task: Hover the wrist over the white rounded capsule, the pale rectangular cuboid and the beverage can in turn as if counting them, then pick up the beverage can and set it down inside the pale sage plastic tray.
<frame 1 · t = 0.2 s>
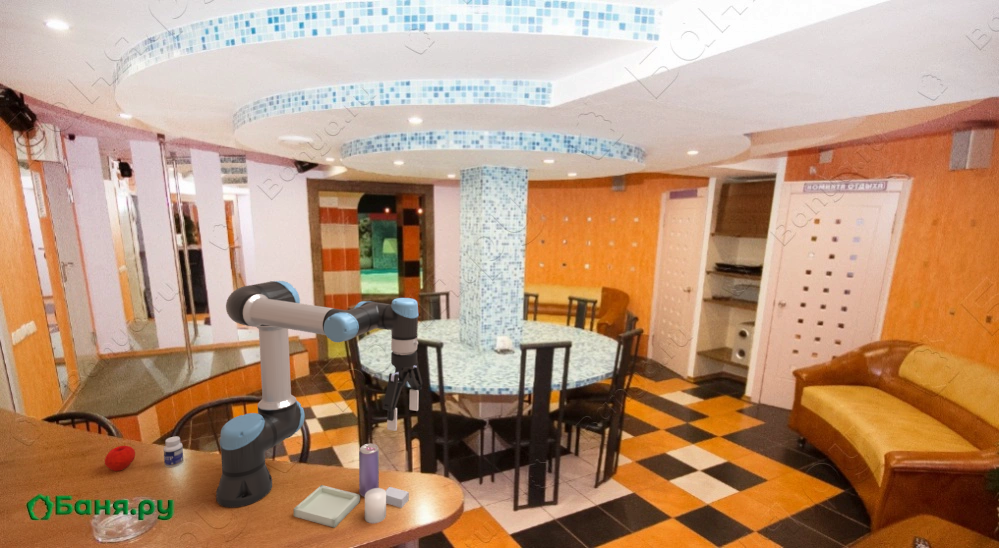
hand: (403, 419, 132), 27 cm above the bar counter, fingers open, 13 cm apart
beverage can: (369, 492, 140), on the bar counter
apple: (121, 468, 147), on the bar counter
tray: (327, 508, 131), on the bar counter
white rounded capsule: (375, 516, 129), on the bar counter
pale rectangular cuboid: (395, 501, 136), on the bar counter
pill bottle: (174, 463, 151), on the bar counter
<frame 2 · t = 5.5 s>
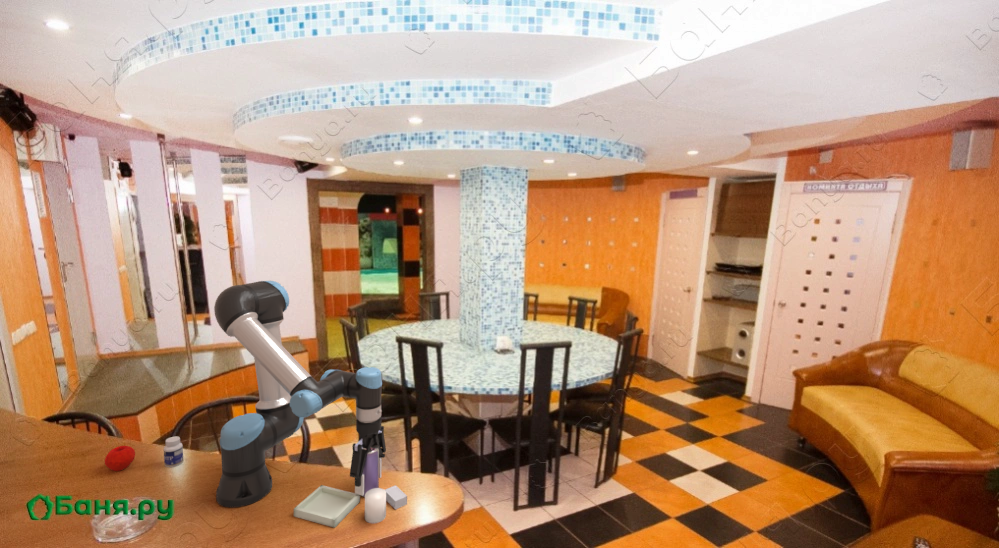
hand: (368, 485, 139), 3 cm above the bar counter, fingers open, 9 cm apart
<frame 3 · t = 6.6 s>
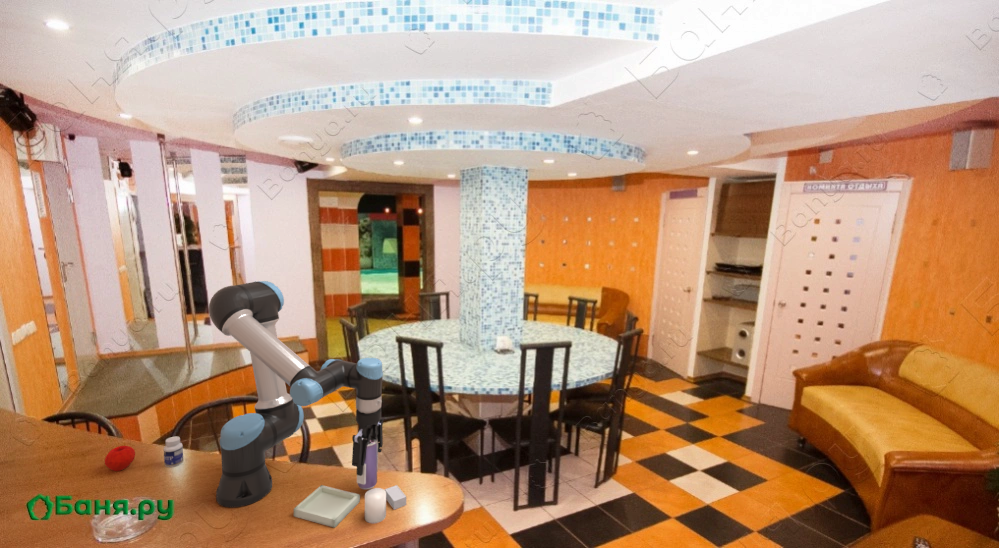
hand: (367, 476, 139), 5 cm above the bar counter, fingers closed on beverage can, 6 cm apart
beverage can: (367, 484, 139), point 2 cm above the bar counter, touching gripper
when the fingers open (4 cm above the bar counter, at t = 11.7 s): beverage can stays where it is, resting on tray.
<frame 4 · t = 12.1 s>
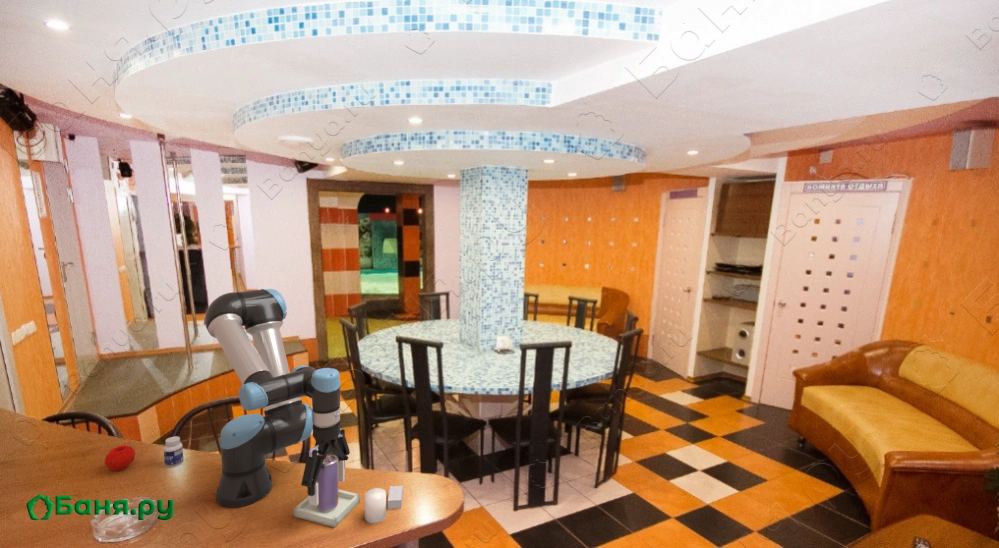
hand: (327, 491, 130), 6 cm above the bar counter, fingers open, 11 cm apart
beverage can: (327, 506, 131), point 1 cm above the bar counter, touching tray
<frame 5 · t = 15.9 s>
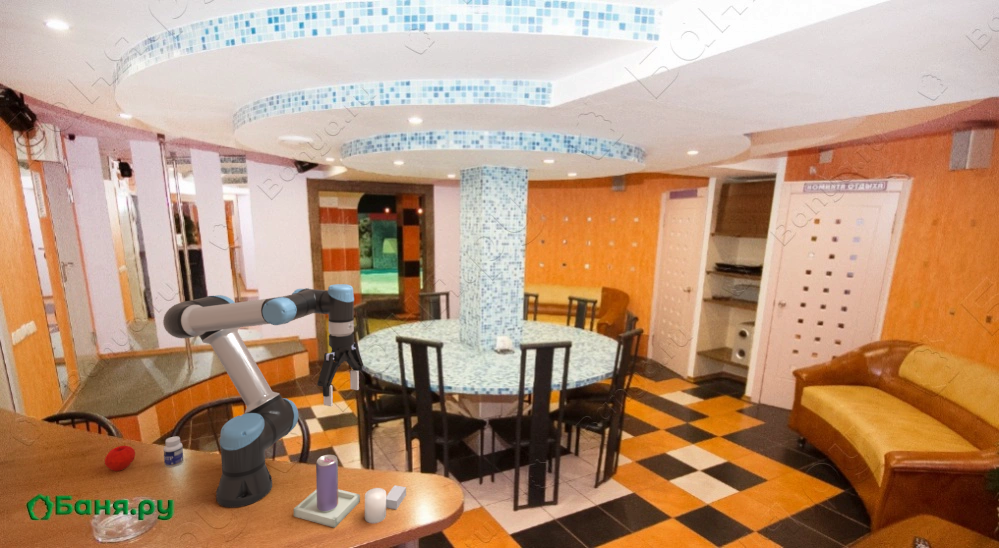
hand: (342, 397, 142), 29 cm above the bar counter, fingers open, 13 cm apart
at the end: beverage can inside the target area on the tray (0.0 cm from its centre), point 0.6 cm above the tray's base; beverage can tilted 0°; the gripper is holding nothing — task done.
